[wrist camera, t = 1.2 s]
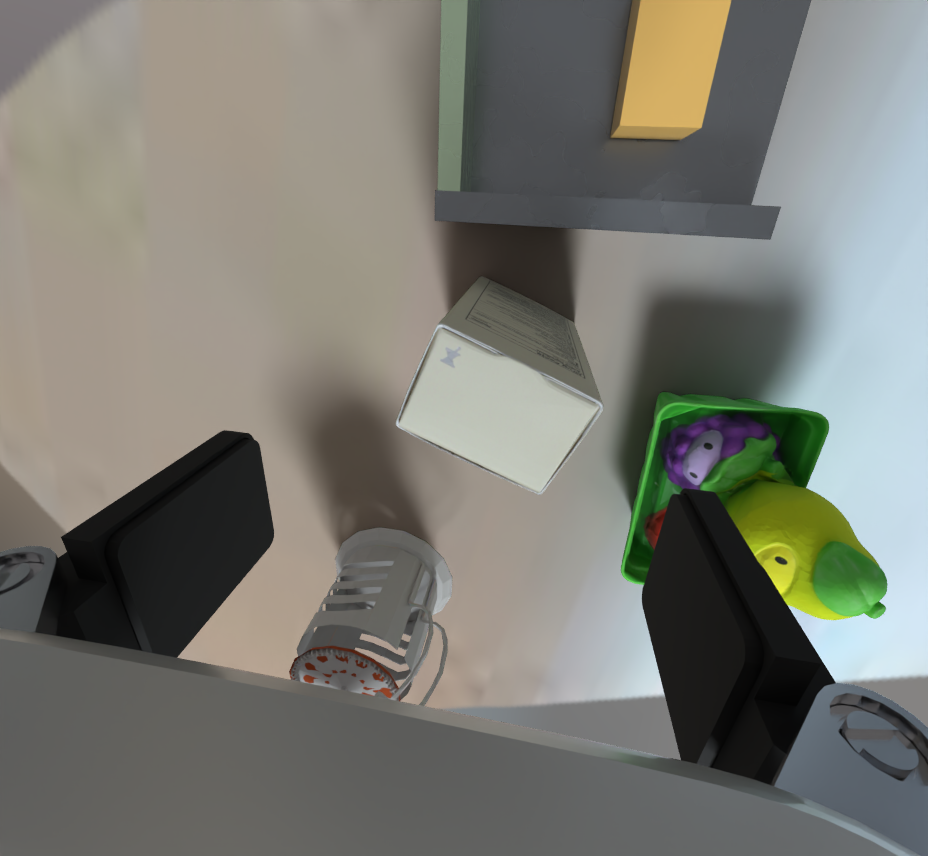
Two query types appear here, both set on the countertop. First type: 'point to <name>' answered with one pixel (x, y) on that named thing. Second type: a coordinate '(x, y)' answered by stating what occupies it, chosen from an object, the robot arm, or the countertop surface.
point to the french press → (376, 615)
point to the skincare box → (503, 387)
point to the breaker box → (601, 121)
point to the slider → (668, 67)
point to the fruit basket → (756, 499)
